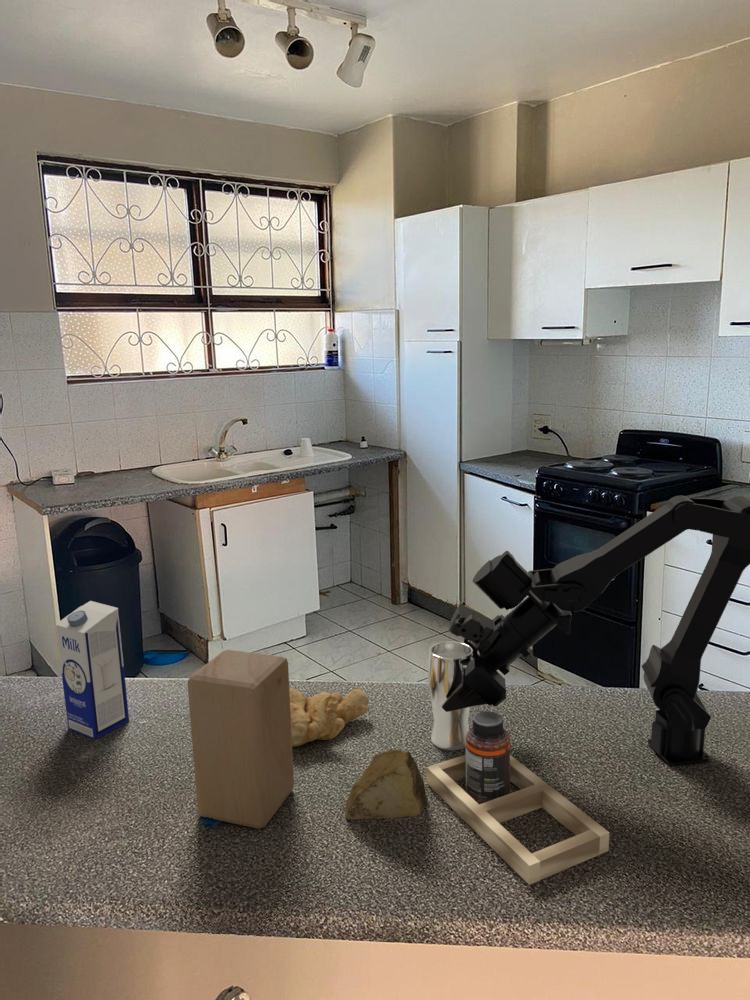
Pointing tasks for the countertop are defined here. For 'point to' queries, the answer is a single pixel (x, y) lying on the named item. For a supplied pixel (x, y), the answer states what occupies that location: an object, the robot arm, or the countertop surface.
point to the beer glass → (448, 693)
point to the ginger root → (323, 714)
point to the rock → (388, 788)
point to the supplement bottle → (487, 758)
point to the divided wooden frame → (512, 805)
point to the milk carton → (93, 669)
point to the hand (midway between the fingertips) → (445, 694)
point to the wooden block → (241, 737)
